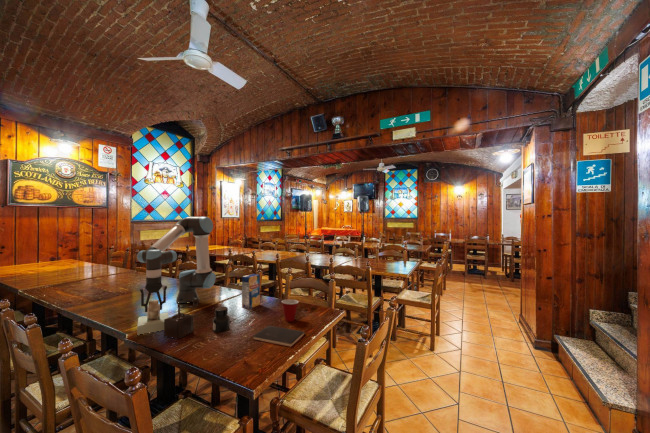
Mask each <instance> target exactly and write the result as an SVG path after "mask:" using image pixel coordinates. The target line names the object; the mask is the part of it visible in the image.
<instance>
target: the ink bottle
mask: <svg viewBox="0 0 650 433" xmlns="http://www.w3.org/2000/svg"><path fill="white" fill-rule="evenodd" d="M228 311H229V309H228V307H227V306H219V307H216V308H215V309H214V315H215V316H214V317H213V318H212V331H213V332H215V333H224V332H227V331H228V330H230V322H231V321H230V316H229V315H228V313H229V312H228Z"/></svg>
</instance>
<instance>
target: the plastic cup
mask: <svg viewBox="0 0 650 433" xmlns="http://www.w3.org/2000/svg"><path fill="white" fill-rule="evenodd" d="M299 303H300V302H299V300H297V299H291V298H290V299H283V300H281V304H282V308H283V315H284V319H285V322H294V321H295V319H296V314H297V308H298V304H299Z"/></svg>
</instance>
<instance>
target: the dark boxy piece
mask: <svg viewBox="0 0 650 433" xmlns="http://www.w3.org/2000/svg"><path fill="white" fill-rule="evenodd" d="M200 300H201V299H200V298H199V297H198V298H194V299H193V300H192V301H193V303H192V305H189V306H187V305H185V306H181V304H178V303H177V313H175V314H174V315H172V316H168V317H169V318H167V319H164V331H163V336H164V337H165V336H167V337H166V338H169V337H173V338H172V339H174V338H180V339H181V337H182V338H183V336H184V337H186V336H188V335H190V334H192V333H193V332H194V315H192V314H187V313H183V312H181V309H187V308H195V307H199V305H198V304H199V303H200ZM192 331H193V332H192ZM189 333H190V334H189ZM187 334H188V335H187ZM185 335H186V336H185Z"/></svg>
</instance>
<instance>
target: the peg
mask: <svg viewBox="0 0 650 433" xmlns="http://www.w3.org/2000/svg"><path fill="white" fill-rule="evenodd" d="M159 304H160V303H159V299H152V300H149V302H148V305H149V320H150V321H155V320H158V318H159V316H158V305H159Z"/></svg>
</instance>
